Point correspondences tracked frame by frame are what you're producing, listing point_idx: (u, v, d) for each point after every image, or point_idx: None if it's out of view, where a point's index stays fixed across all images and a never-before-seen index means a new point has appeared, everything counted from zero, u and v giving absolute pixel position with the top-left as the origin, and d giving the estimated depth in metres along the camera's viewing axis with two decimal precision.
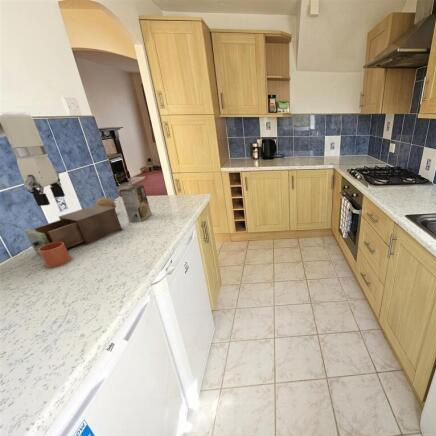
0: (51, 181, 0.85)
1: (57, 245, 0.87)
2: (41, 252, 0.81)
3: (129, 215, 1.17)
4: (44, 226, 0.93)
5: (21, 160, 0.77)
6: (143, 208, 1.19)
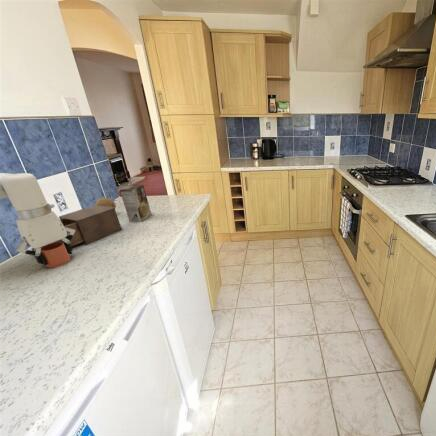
0: (51, 240, 0.82)
1: (57, 245, 0.87)
2: (41, 252, 0.81)
3: (129, 215, 1.17)
4: None
5: (17, 222, 0.76)
6: (143, 208, 1.19)
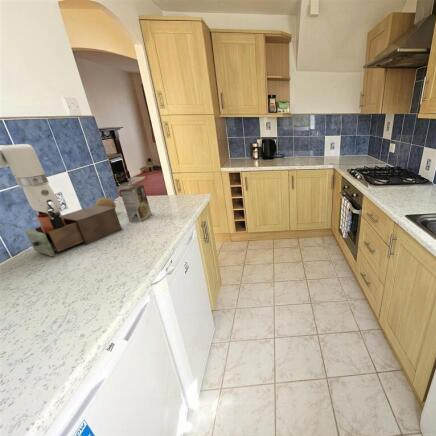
0: (38, 209, 0.88)
1: None
2: None
3: (129, 215, 1.17)
4: None
5: None
6: (143, 208, 1.19)
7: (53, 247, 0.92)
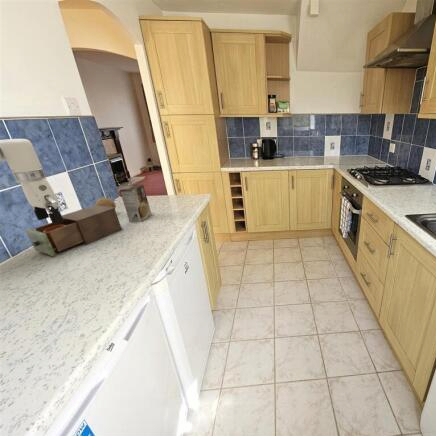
0: (35, 205, 0.87)
1: None
2: None
3: (129, 215, 1.17)
4: (45, 226, 0.93)
5: None
6: (143, 208, 1.19)
7: (54, 247, 0.93)
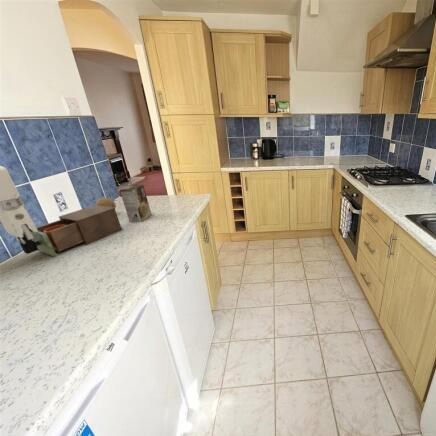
0: (13, 234, 0.82)
1: None
2: None
3: (129, 215, 1.17)
4: (45, 226, 0.94)
5: None
6: (143, 208, 1.19)
7: (54, 247, 0.93)
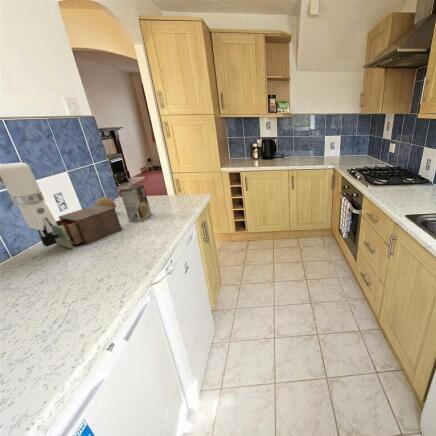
0: (33, 227, 0.87)
1: None
2: None
3: (129, 215, 1.17)
4: (62, 220, 0.98)
5: None
6: (143, 208, 1.19)
7: None
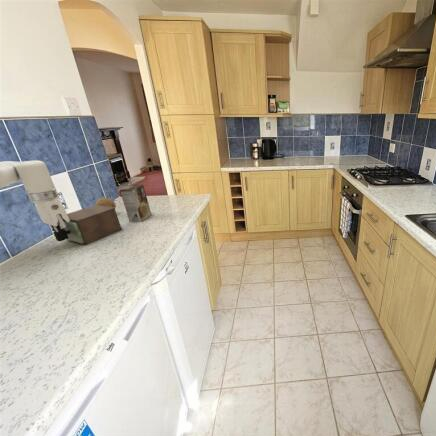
0: (47, 222, 0.91)
1: None
2: None
3: (129, 215, 1.17)
4: None
5: None
6: (143, 208, 1.19)
7: None
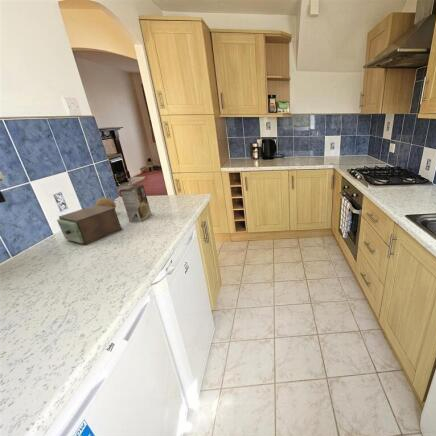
0: None
1: None
2: None
3: (129, 215, 1.17)
4: None
5: None
6: (143, 208, 1.19)
7: None
